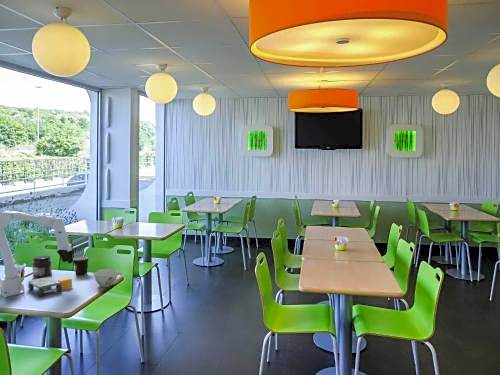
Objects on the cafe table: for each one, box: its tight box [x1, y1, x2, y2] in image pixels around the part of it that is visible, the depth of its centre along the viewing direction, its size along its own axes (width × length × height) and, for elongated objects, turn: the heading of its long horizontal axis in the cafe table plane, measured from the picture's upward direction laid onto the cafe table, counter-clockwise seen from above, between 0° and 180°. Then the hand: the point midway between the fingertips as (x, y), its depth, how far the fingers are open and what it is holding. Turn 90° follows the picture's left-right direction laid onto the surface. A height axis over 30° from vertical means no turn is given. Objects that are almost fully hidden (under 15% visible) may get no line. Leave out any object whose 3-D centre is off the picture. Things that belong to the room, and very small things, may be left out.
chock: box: [57, 277, 73, 291], centre depth 237 cm, size 4×6×5 cm, turn 134°
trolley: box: [27, 276, 63, 298], centre depth 231 cm, size 11×20×5 cm, turn 44°
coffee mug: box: [73, 256, 89, 277], centre depth 262 cm, size 12×9×10 cm
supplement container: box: [31, 255, 53, 279], centre depth 259 cm, size 10×10×12 cm
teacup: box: [93, 268, 123, 288], centre depth 240 cm, size 15×12×8 cm
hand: (68, 262), depth 239 cm, fingers open, 7 cm apart
